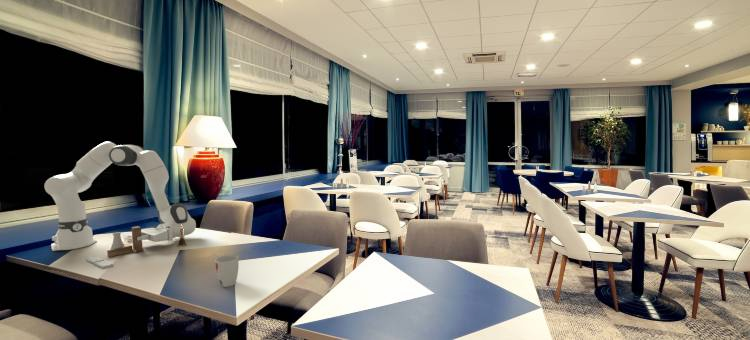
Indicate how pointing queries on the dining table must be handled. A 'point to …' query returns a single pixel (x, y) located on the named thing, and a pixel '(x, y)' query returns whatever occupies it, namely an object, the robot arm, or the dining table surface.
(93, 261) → the broken grey strip
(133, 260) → the dining table surface
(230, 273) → the cup
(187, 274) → the dining table surface
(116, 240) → the flask
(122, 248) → the brown wooden l-shaped piece
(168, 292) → the dining table surface
